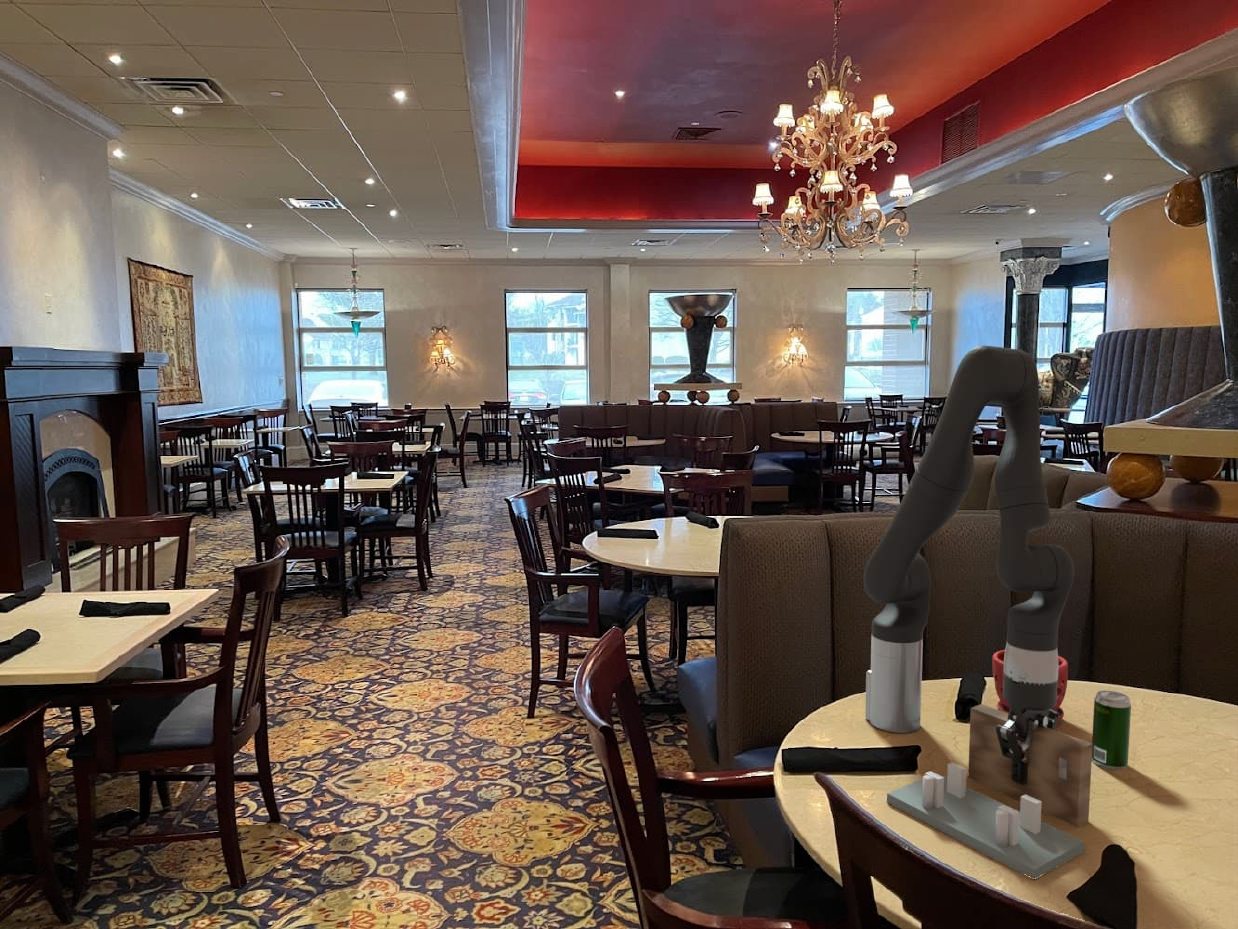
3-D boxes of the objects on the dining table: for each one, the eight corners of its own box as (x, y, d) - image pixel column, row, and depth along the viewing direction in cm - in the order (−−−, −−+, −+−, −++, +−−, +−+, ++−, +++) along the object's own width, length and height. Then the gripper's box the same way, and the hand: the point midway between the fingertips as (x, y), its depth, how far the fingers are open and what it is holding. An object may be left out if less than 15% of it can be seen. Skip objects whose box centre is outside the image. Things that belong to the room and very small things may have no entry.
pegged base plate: (886, 802, 129) (887, 765, 128) (936, 782, 135) (937, 746, 134) (1034, 880, 108) (1036, 836, 108) (1084, 851, 115) (1086, 810, 114)
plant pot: (1058, 708, 165) (1061, 650, 163) (1071, 735, 152) (1074, 672, 151) (987, 700, 169) (989, 643, 168) (993, 726, 157) (996, 664, 155)
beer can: (1117, 774, 137) (1121, 704, 136) (1084, 762, 142) (1088, 694, 140) (1133, 765, 140) (1137, 697, 139) (1100, 754, 145) (1104, 687, 143)
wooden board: (967, 778, 136) (970, 708, 135) (979, 773, 138) (982, 703, 137) (1076, 827, 121) (1080, 749, 120) (1088, 821, 123) (1092, 743, 122)
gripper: (1033, 657, 134) (1029, 759, 136) (980, 674, 127) (976, 781, 129) (1079, 671, 128) (1074, 777, 130) (1027, 689, 121) (1022, 802, 122)
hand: (1025, 779), depth 129 cm, fingers closed on wooden board, 3 cm apart
